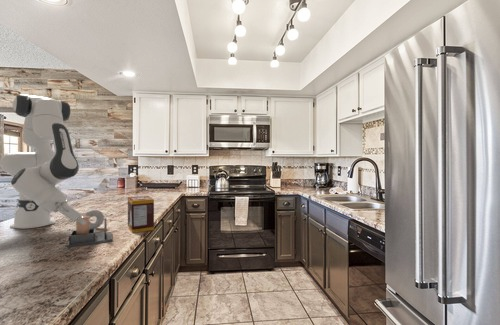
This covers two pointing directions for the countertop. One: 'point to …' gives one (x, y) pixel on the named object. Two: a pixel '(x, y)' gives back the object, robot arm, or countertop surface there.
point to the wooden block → (82, 226)
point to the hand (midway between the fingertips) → (82, 221)
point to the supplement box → (140, 213)
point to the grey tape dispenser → (90, 237)
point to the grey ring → (98, 215)
